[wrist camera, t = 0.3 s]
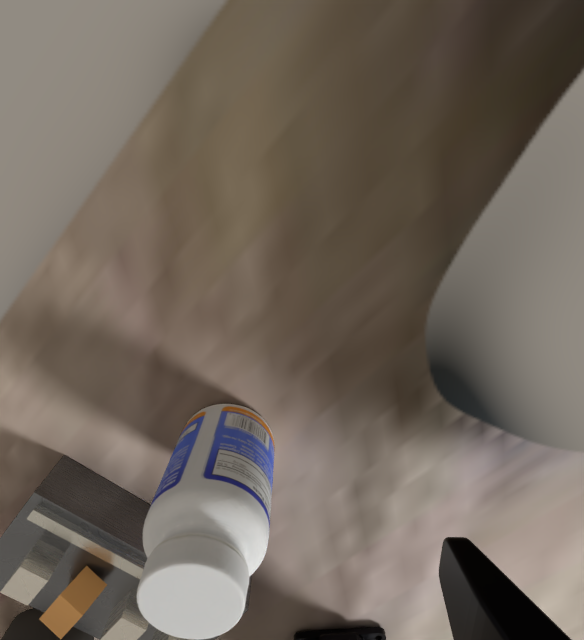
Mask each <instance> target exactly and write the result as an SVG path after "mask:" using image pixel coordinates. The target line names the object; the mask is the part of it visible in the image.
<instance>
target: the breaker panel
mask: <svg viewBox="0 0 584 640" xmlns="http://www.w3.org/2000/svg"><path fill="white" fill-rule="evenodd" d="M150 506H151V505H149V504H148V503H146V502H144V501H143V500H141V499H139V498H137V497H136V496H134V495H132V494H130V493H129V492H127V491H125V490H124V489H122V488H120V487H118V486H117V485H115V484H113V483H112V482H110V481H108V480H106V479H105V478H103V477H101V476H99V475H98V474H96V473H94V472H93V471H91V470H89V469H87V468H86V467H84V466H82V465H80V464H79V463H77V462H75V461H74V460H72V459H70V458H68V457H67V456H65V455H64V456H63V457H62V458H61V460H60V461H59V462H58V463H57V465H56V466H55V467H54V468H53V470H52V471H51V472H50V473H49V475H48V476H47V477H46V478H45V480H44V481H43V482H42V483H41V485H40V486H39V487H38V488H37V490H36V491H35V492H34V493H33V495H32V496H31V497H30V499H29V500H28V501H27V503H26V504H25V505H24V507H23V508H22V510H21V511H20V512H19V514H18V515H17V516H16V518H15V519H14V520H13V522H12V523H11V524H10V526H9V527H8V528H7V530H6V531H5V532H4V534H3V535H2V537H1V538H0V593H2V594H4V595H6V596H8V597H10V598H12V599H15V600H17V601H19V602H21V603H23V604H25V605H27V606H28V605H29V606H31V607H34V608H36V609H38V610H40V611H42V612H44V613H45V612H46V610H47V609H48V608H49V607H50V606H51V605H52V603H53V602H54V601H55V600H56V599H57V598H58V596H59V595H60V594H61V593H62V592H63V591H64V590H65V589H66V588H67V586H68V585H69V584H70V583H71V582H72V581H73V580H74V579H75V578H76V577H77V575H78V574H79V573H80V572H81V571H82V570H83V569H84V568H85V567H86V566H88V567H89V568H90V569H91V570H92V571H93V572H94V573H95V574H96V575H97V576H98V577H99V578H100V579H102V580H103V581H104V582H105V583H106V584H107V586H106V587H105V588H104V590H103V591H102V592H101V593H100V595H99V596H98V597H97V598H96V600H95V601H94V602H93V603H92V605H91V606H90V607H89V608H88V610H87V611H86V612H85V613H84V615H83V616H82V617H81V618H80V619H79V620H78V621H77V622H76V624H75V625H74V626H73V627H75V628H77V629H79V630H81V631H83V632H85V633H87V634H89V635H91V636H93V637H96V638H98V639H100V640H195V639H184V638H178V637H175V636H171V635H169V634H166V633H164V632H162V631H160V630H158V629H157V628H155V627H154V626H152V625H151V624H150V623H149V622H148V621H147V620H146V619H145V618H144V617H143V615H142V614H141V612H140V610H139V608H138V604H137V589H138V585H139V582H140V579H141V576H142V573H143V570H144V567H145V563H146V561H147V559H148V558H147V556H146V553H145V551H144V547H143V527H144V522H145V519H146V516H147V514H148V511H149V509H150ZM251 577H252V575H251V576H250V577H249V586H248V590H247V596H246V603H245V608H244V611H243V614H244V613H245V612H246V611H247V610H248V606H249V596H250V587H251ZM243 614H242V615H243ZM217 637H218V636H216V637H213V638H208V639H199V640H215V639H216V638H217Z"/></svg>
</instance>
